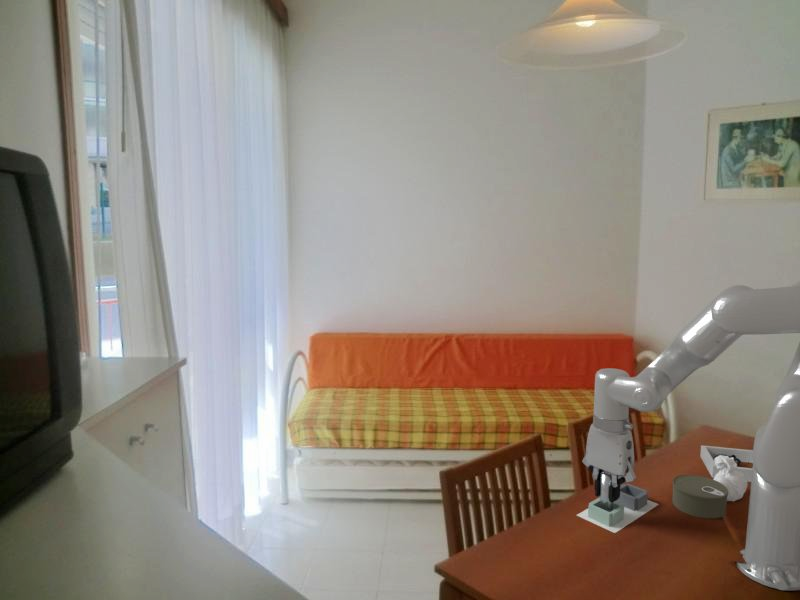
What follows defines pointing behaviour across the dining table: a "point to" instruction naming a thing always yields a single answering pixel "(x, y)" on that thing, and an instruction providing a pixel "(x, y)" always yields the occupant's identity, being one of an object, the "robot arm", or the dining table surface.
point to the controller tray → (743, 455)
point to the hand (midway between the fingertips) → (606, 496)
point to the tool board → (620, 509)
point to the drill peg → (605, 491)
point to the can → (700, 496)
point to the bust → (730, 477)
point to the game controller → (731, 457)
